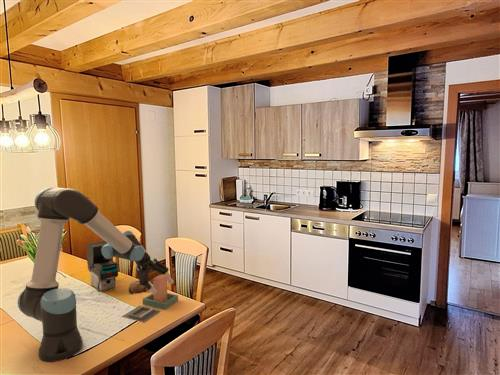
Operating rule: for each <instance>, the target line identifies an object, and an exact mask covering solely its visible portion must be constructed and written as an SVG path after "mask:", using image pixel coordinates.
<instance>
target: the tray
mask: <svg viewBox="0 0 500 375" xmlns="http://www.w3.org/2000/svg"><path fill="white" fill-rule="evenodd" d="M178 301H179V294H174V293H170V292H169V293H168V292H167V301H166V302H165V303H163V302H159V301H154V296H153V294H152V293H151V294H149V295H147V296H145V297H143V298H142V306H146V307H151V308H154V309H155V308H156V309H159V310H160V309H161V310H163V311H165V310H167V309H168V308H170V307H172V305H173V306H174V304H176V303H178Z"/></svg>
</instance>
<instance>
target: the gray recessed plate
mask: <svg viewBox="0 0 500 375" xmlns="http://www.w3.org/2000/svg"><path fill="white" fill-rule="evenodd" d="M161 312H162V311H161V310H160V309H159V310H158V309H155V307H151V308H150V307H149V306H145V305H142V306H141V305H138V306H136V307H135V308H133V309H132V310H130V311H128V312H127V313H125V314H123V315H121V316H120V317H121V318H125V319H128V320H132V321H136V322H141V323H143V324H145V323H146V322H148V321H149V320H151V319H152V318H154V317H155V316H157V315H158V314H159V313H161Z"/></svg>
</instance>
